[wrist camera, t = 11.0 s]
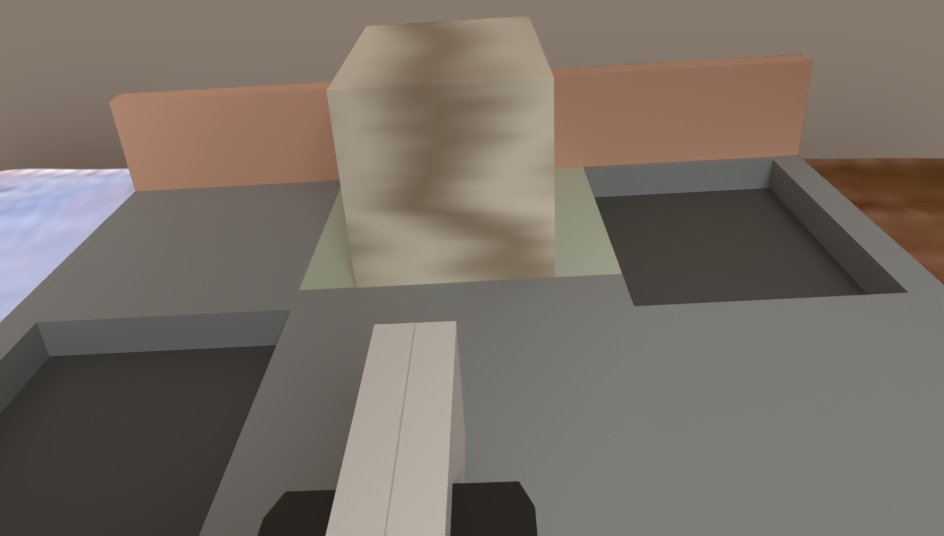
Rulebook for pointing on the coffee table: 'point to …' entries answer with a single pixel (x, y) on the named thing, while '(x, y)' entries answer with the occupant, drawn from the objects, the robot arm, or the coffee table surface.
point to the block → (446, 152)
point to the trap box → (490, 328)
